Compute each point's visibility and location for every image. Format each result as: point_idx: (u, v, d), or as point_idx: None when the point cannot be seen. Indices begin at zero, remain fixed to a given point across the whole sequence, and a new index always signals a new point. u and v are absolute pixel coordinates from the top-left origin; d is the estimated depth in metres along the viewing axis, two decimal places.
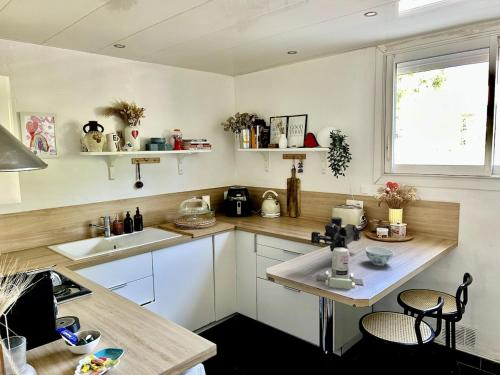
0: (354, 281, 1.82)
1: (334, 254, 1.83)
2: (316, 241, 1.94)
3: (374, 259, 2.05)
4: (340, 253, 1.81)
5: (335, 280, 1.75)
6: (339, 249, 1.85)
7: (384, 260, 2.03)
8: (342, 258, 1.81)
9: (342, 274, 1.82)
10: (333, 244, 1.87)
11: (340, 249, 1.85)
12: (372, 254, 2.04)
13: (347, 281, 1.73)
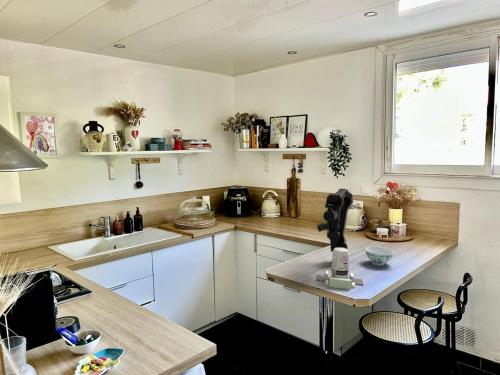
0: (354, 281, 1.82)
1: (334, 254, 1.83)
2: None
3: (374, 259, 2.05)
4: (340, 253, 1.81)
5: (335, 280, 1.75)
6: (339, 249, 1.85)
7: (384, 260, 2.03)
8: (342, 258, 1.81)
9: (342, 274, 1.82)
10: (332, 245, 1.91)
11: (340, 249, 1.85)
12: (372, 254, 2.04)
13: (347, 281, 1.73)
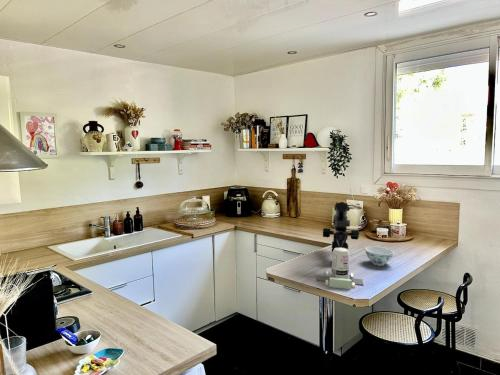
0: (354, 281, 1.82)
1: (334, 254, 1.83)
2: (339, 241, 1.97)
3: (374, 259, 2.05)
4: (340, 253, 1.81)
5: (335, 280, 1.75)
6: (339, 249, 1.85)
7: (384, 260, 2.03)
8: (342, 258, 1.81)
9: (342, 274, 1.82)
10: (342, 244, 1.95)
11: (340, 249, 1.85)
12: (372, 254, 2.04)
13: (347, 281, 1.73)
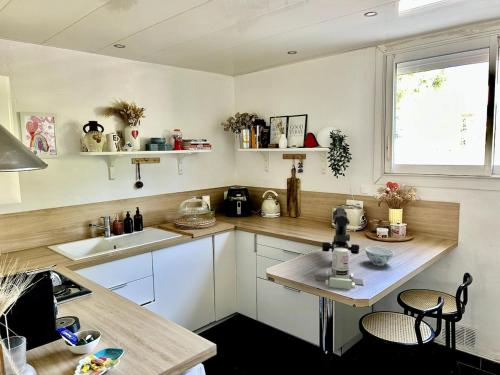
0: (354, 281, 1.82)
1: (334, 254, 1.83)
2: None
3: (374, 259, 2.05)
4: (340, 253, 1.81)
5: (335, 280, 1.75)
6: (339, 249, 1.85)
7: (384, 260, 2.03)
8: (342, 258, 1.81)
9: (342, 274, 1.82)
10: None
11: (340, 249, 1.85)
12: (372, 254, 2.04)
13: (347, 281, 1.73)
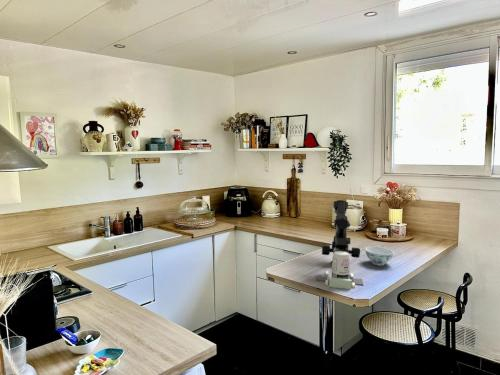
0: (354, 281, 1.82)
1: (334, 258, 1.77)
2: None
3: (374, 259, 2.05)
4: (341, 257, 1.76)
5: (335, 280, 1.75)
6: (339, 253, 1.80)
7: (384, 260, 2.03)
8: (343, 262, 1.75)
9: (343, 278, 1.76)
10: None
11: (340, 253, 1.80)
12: (372, 254, 2.04)
13: (347, 281, 1.73)
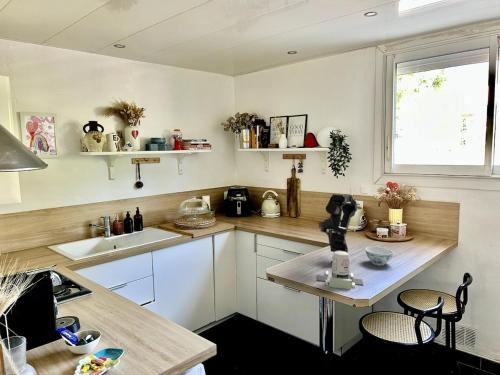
0: (354, 281, 1.82)
1: (334, 258, 1.77)
2: None
3: (374, 259, 2.05)
4: (341, 257, 1.76)
5: (335, 280, 1.75)
6: (339, 253, 1.80)
7: (384, 260, 2.03)
8: (343, 262, 1.75)
9: (343, 278, 1.76)
10: (332, 242, 1.95)
11: (340, 253, 1.80)
12: (372, 254, 2.04)
13: (347, 281, 1.73)
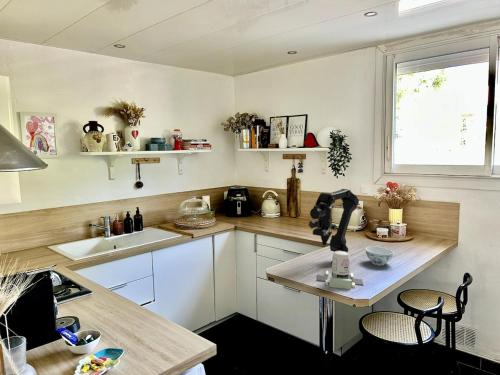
0: (354, 281, 1.82)
1: (334, 258, 1.77)
2: None
3: (374, 259, 2.05)
4: (341, 257, 1.76)
5: (335, 280, 1.75)
6: (339, 253, 1.80)
7: (384, 260, 2.03)
8: (343, 262, 1.75)
9: (343, 278, 1.76)
10: (323, 241, 1.97)
11: (340, 253, 1.80)
12: (372, 254, 2.04)
13: (347, 281, 1.73)
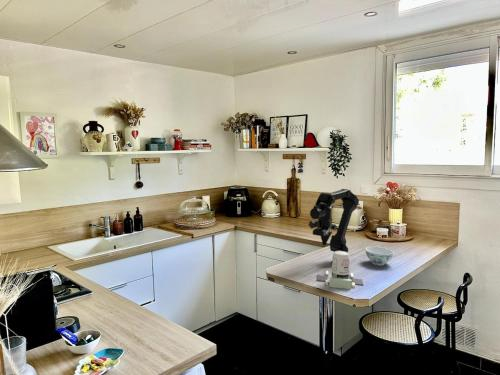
0: (354, 281, 1.82)
1: (334, 258, 1.77)
2: None
3: (374, 259, 2.05)
4: (341, 257, 1.76)
5: (335, 280, 1.75)
6: (339, 253, 1.80)
7: (384, 260, 2.03)
8: (343, 262, 1.75)
9: (343, 278, 1.76)
10: (323, 241, 1.97)
11: (340, 253, 1.80)
12: (372, 254, 2.04)
13: (347, 281, 1.73)
